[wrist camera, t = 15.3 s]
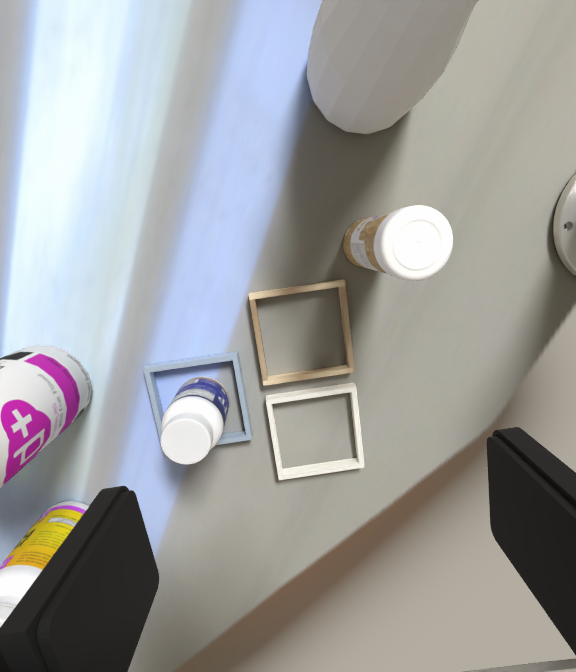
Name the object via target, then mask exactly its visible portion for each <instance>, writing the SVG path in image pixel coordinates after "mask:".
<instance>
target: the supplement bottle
mask: <svg viewBox="0 0 576 672" xmlns="http://www.w3.org/2000/svg"><path fill="white" fill-rule="evenodd" d="M88 507H89V506H88V505H86V504H83V503H80V502H74V501H66V502H61V503H58V504H55V505H53V506H52V507H50V508H49V509H48V510H47V511H46V512H45V513H44V514H43V515H42V516H41V517H40V518H39V519H38V521H37V522H36V523H35V524H34V526H33V527H32V528H31V529H30V530H29V532H28V533H27V534H26V535H25V536H24V538H23V539H22V540H21V541H20V542H19V544H18V545H17V546H16V547H15V548H14V550H13V551H12V552H11V553H10V555H9V556H8V557H7V558H6V559H5V561H4V562H3V563H2V564H1V566H0V627H1V626H2V625H3V623H4V622H5V620H6V619H7V618H8V616H9V615H10V614H11V612H12V611H13V610H14V608H15V607H16V605H17V604H18V603H19V601H20V600H21V599H22V597H23V596H24V595H25V593H26V592H27V590H28V589H29V588H30V586H31V585H32V584H33V582H34V581H35V580H36V578H37V577H38V575H39V574H40V573H41V571H42V570H43V569H44V567H45V566H46V565H47V563H48V562H49V560H50V559H51V558H52V556H53V555H54V554H55V552H56V551H57V550H58V548H59V547H60V545H61V544H62V543H63V541H64V540H65V539H66V537H67V536H68V535H69V533H70V532H71V530H72V529H73V528H74V526H75V525H76V524H77V522H78V521H79V520H80V518H81V517H82V515H83V514H84V513H85V511H86V510H87V509H88Z"/></svg>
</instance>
